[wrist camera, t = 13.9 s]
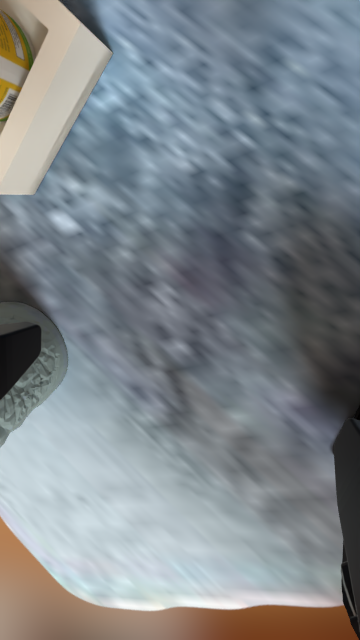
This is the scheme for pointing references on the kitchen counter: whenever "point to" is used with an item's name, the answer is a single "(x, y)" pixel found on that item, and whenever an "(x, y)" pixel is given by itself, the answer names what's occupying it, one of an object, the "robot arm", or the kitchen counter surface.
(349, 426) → the robot arm
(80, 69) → the cream square tray
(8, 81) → the supplement bottle
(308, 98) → the kitchen counter surface
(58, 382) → the grey green cup
